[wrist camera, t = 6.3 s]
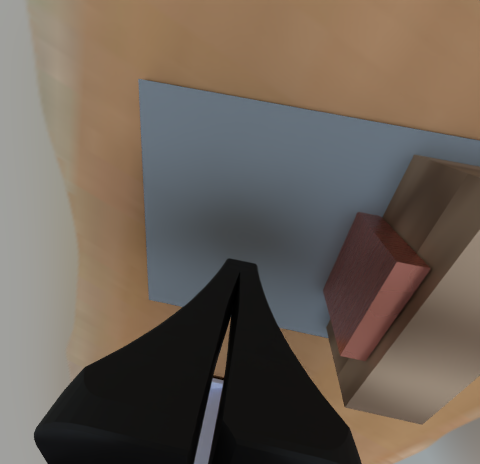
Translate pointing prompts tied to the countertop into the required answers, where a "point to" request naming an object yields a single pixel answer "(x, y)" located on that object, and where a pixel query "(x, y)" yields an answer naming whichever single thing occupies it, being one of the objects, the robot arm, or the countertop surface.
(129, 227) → the countertop surface
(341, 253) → the pin
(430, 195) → the block
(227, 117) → the mat
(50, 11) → the countertop surface
